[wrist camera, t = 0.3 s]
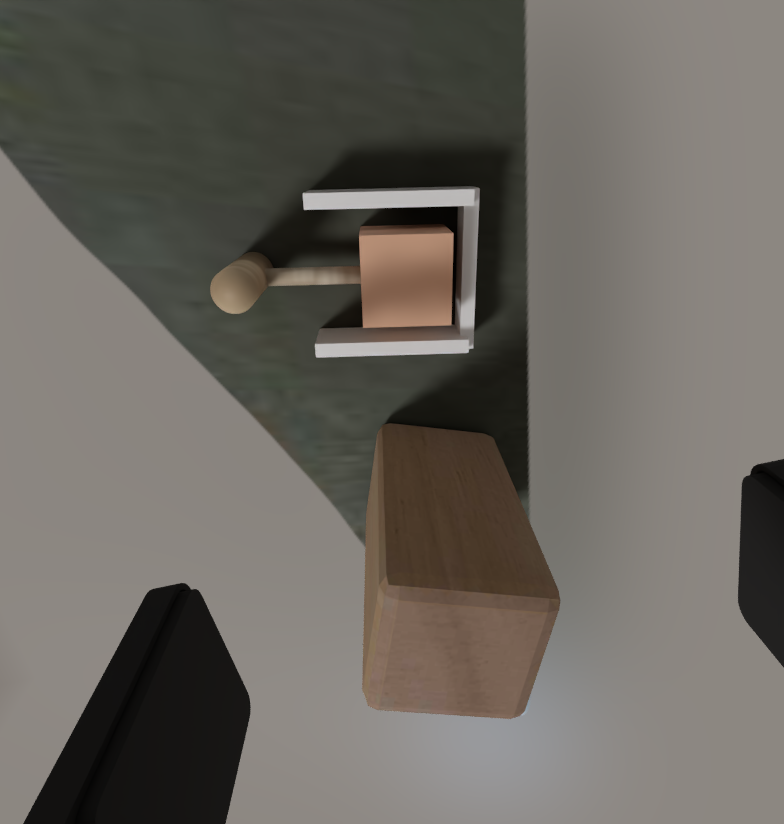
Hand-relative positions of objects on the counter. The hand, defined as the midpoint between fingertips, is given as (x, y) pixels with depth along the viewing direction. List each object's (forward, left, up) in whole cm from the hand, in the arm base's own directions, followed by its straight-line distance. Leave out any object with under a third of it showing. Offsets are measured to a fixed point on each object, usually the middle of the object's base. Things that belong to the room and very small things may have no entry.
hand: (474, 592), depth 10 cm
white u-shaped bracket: (+1, 0, -35) cm, 35 cm away
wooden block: (+19, +2, -35) cm, 40 cm away
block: (+1, -4, -35) cm, 35 cm away
